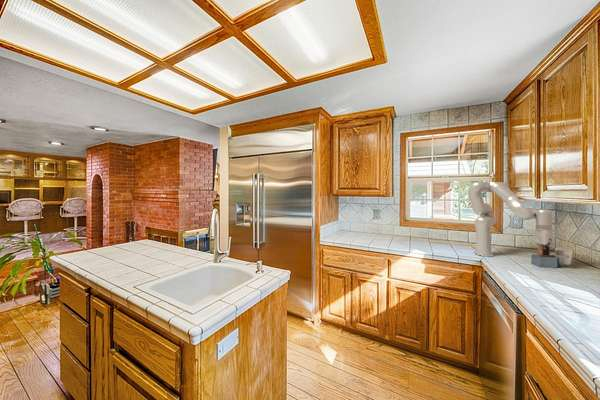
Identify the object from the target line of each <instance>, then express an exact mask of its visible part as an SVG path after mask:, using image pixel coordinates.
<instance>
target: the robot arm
mask: <svg viewBox="0 0 600 400" xmlns="http://www.w3.org/2000/svg"><path fill="white" fill-rule="evenodd" d="M486 192H487V193H494V195H496V196H497V197H498V198H500V199H501V200H502V201H503V202H504V203H505V205H506V206H507V207H508V209H509V210H510V211H511V212H512V213H513V214H514V215H515V216H516V217H518V218H519V219H521V220H522V221H523V220H524V221H528V220H535V230H534V232H533V233H534V235H533V242H534V243H535V244H536V245H537V246H538V243H539V244H542V245H543V247H544V249H543V255H549V249H550V250H551V248H553V247H554V232H553V211H552V210H550V209H543V208H542V209H536V208H527V207H525V206H524V205H523V204H522V203H521V201H520V200H519V196H518V195H517V194H516V193H515V192H514V191H513V190H511V189H510V185H509V184H508V183H507V182H504V181H499V182H498V181H476V182H473V183H472V184H470V186H469V187H468V190H467V194H468V198H469V201H470V205H471V208H472V212H473V213H474V214H475V215H479V216H478V217H477V218H475V221H474V228H475V251H473V255H475V254H477V255H476V256H479V255H481V257H486V258H487V257H489V258H490V257H494V255H495V254H494V253H492V232H491V227H493V226H494V225H495V224H496V218H495V215H494V212H493V211H494V210H493V209H492V206H491V205H490V204H489V203H487V202H485V201H484V198H483V196H482V194H481V193H486ZM546 244H548V245H546Z"/></svg>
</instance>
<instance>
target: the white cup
mask: <svg viewBox="0 0 600 400" xmlns="http://www.w3.org/2000/svg"><path fill="white" fill-rule="evenodd" d="M554 249H555V250H563V251H564V254H566V255H569V256H570V258H563V266H564V265H565V266H570V265H572V261H573V249H570V248H565V247H564V248H562V247H556V248H554ZM555 250H554V251H555Z"/></svg>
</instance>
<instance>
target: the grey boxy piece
mask: <svg viewBox="0 0 600 400" xmlns="http://www.w3.org/2000/svg"><path fill="white" fill-rule="evenodd" d="M530 257H531V259H530V260H531V265H533V266H535V267H538V268H546V269H548V268H549V269H558V268H564V264H563V258H570V256H569V255H566V254H564V251H563V250H554V252H550V257H540V256H538V253H531V256H530Z"/></svg>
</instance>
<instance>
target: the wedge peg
mask: <svg viewBox="0 0 600 400" xmlns="http://www.w3.org/2000/svg"><path fill="white" fill-rule="evenodd" d="M546 245H548V244H546ZM543 249H544V247H543V245H542V244H539V243H538V245H537V254H538V256H540V257H550V253H551V248H550V249H549V255H543Z"/></svg>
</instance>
